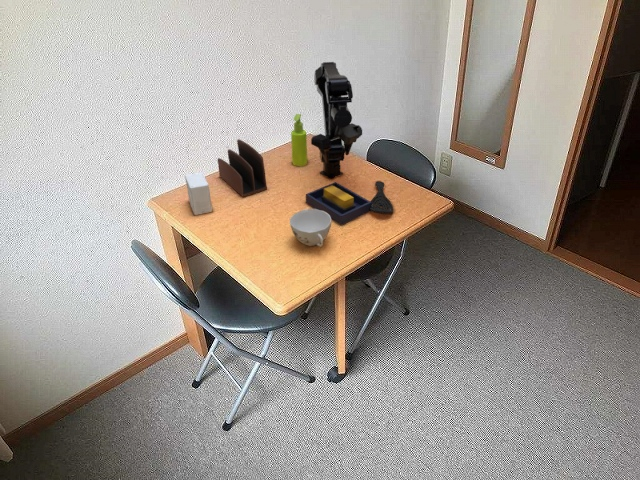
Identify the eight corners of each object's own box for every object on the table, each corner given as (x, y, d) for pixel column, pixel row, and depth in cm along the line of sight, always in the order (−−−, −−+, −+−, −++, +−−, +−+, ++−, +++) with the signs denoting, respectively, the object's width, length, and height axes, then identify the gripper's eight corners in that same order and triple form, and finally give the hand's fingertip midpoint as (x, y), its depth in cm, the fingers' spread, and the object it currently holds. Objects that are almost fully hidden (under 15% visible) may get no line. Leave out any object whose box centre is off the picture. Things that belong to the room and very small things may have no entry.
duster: (321, 201, 169) (321, 188, 166) (332, 196, 172) (332, 184, 169) (344, 215, 162) (344, 202, 159) (355, 210, 164) (355, 197, 161)
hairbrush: (391, 176, 179) (395, 210, 158) (389, 185, 181) (394, 219, 160) (368, 175, 179) (370, 208, 158) (367, 184, 181) (369, 217, 160)
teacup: (285, 234, 154) (284, 213, 149) (321, 226, 157) (321, 204, 153) (302, 261, 142) (301, 239, 138) (341, 251, 146) (341, 229, 141)
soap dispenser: (290, 167, 192) (288, 118, 180) (294, 159, 198) (292, 111, 186) (305, 167, 191) (303, 119, 180) (308, 160, 197) (307, 112, 185)
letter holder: (242, 169, 191) (238, 135, 183) (267, 189, 177) (264, 154, 169) (219, 176, 186) (214, 142, 178) (242, 197, 173) (238, 161, 165)
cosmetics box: (213, 211, 165) (209, 184, 159) (194, 215, 163) (189, 188, 157) (207, 197, 173) (202, 171, 167) (188, 201, 171) (183, 174, 165)
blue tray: (305, 202, 169) (305, 194, 167) (335, 190, 176) (335, 181, 174) (341, 225, 158) (341, 216, 156) (371, 211, 165) (371, 202, 163)
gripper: (331, 130, 152) (331, 174, 161) (374, 115, 161) (372, 158, 170) (309, 120, 159) (310, 163, 168) (351, 106, 168) (350, 148, 177)
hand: (337, 158), depth 171 cm, fingers open, 9 cm apart
